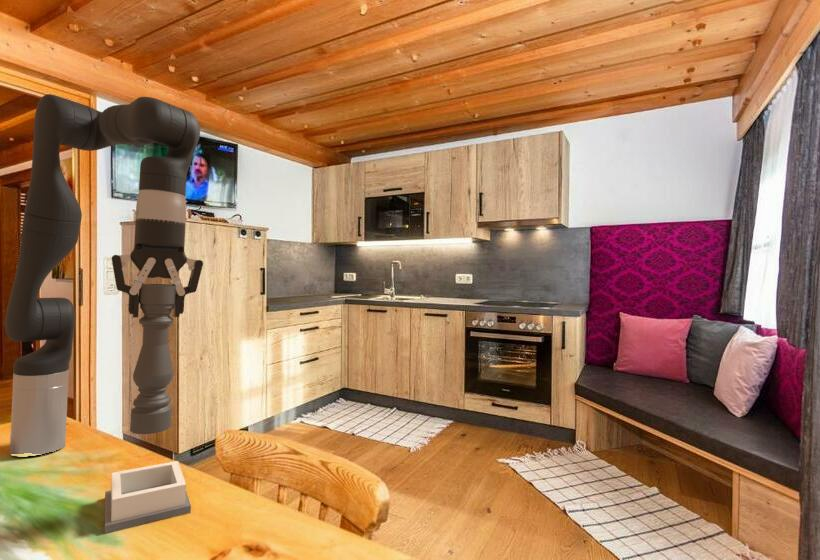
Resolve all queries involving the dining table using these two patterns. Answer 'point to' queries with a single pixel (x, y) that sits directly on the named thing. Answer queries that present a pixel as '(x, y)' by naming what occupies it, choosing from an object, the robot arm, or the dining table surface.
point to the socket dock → (145, 496)
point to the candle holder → (154, 361)
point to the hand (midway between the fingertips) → (156, 316)
